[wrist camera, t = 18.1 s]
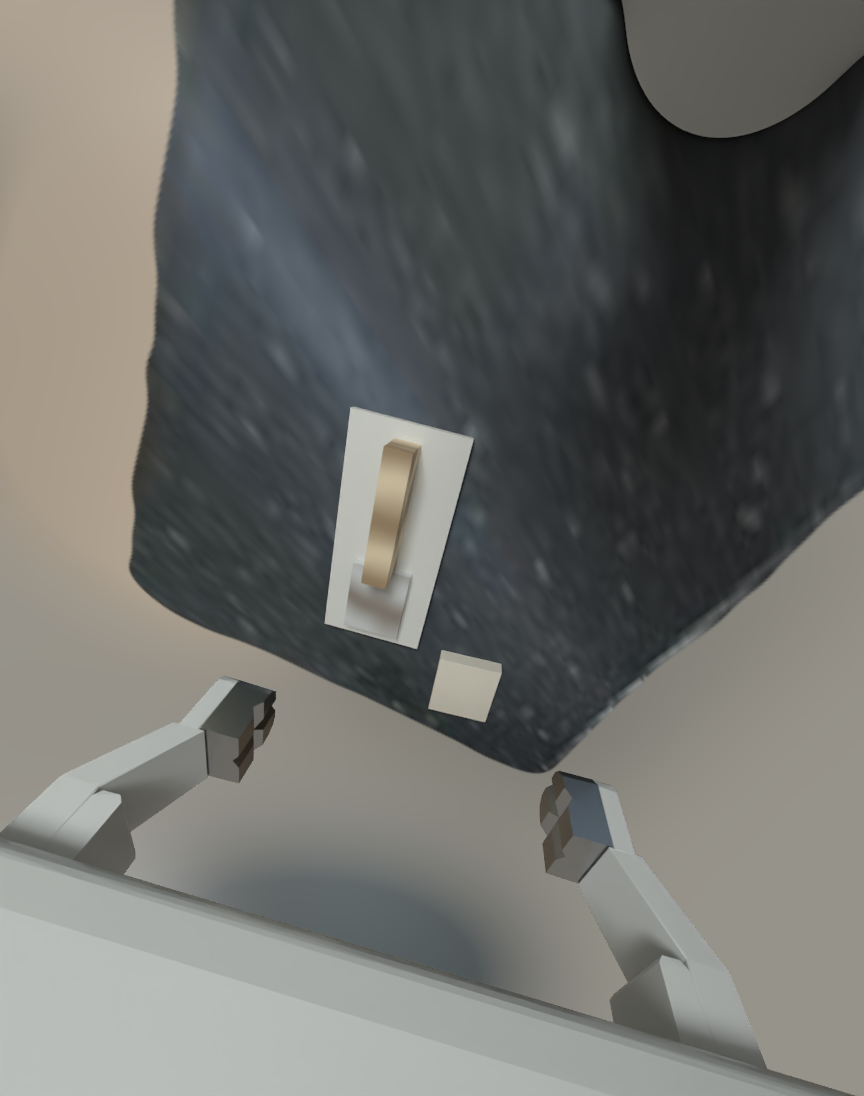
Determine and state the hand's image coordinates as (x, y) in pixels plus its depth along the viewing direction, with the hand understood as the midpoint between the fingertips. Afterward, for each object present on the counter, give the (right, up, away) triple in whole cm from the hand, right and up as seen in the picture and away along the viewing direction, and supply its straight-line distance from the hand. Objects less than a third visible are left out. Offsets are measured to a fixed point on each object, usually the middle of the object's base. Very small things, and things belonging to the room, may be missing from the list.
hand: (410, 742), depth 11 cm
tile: (+5, -7, +32) cm, 34 cm away
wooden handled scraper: (-4, +6, +27) cm, 28 cm away
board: (-4, +6, +28) cm, 29 cm away
